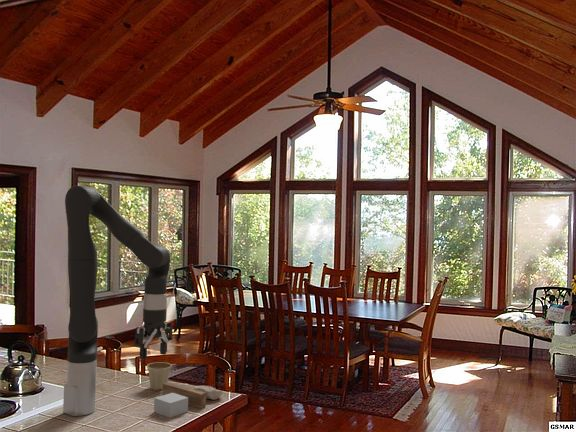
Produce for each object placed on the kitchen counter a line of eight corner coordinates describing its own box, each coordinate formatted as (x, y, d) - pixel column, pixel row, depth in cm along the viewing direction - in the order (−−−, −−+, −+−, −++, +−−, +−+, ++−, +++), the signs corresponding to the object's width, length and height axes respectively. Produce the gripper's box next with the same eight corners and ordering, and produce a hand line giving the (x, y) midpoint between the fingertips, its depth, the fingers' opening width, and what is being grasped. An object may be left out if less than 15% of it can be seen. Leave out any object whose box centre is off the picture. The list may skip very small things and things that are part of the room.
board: (200, 408, 202) (201, 394, 202) (162, 397, 213) (162, 383, 213) (205, 406, 204) (206, 392, 204) (166, 395, 215) (167, 382, 215)
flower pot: (168, 392, 219) (168, 369, 219) (143, 391, 220) (143, 368, 219) (173, 384, 229) (174, 362, 229) (149, 383, 229) (150, 361, 229)
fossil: (203, 384, 221) (223, 378, 217) (207, 401, 219) (228, 395, 215) (188, 387, 213) (209, 381, 209) (192, 406, 212) (214, 399, 207)
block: (169, 418, 192) (170, 403, 192) (153, 412, 197) (154, 397, 197) (187, 412, 199) (188, 397, 199) (172, 406, 204) (172, 392, 204)
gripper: (146, 311, 183) (144, 362, 183) (178, 305, 195) (177, 354, 195) (130, 308, 187) (128, 358, 187) (162, 303, 199) (161, 351, 199)
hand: (153, 356), depth 191 cm, fingers open, 8 cm apart
